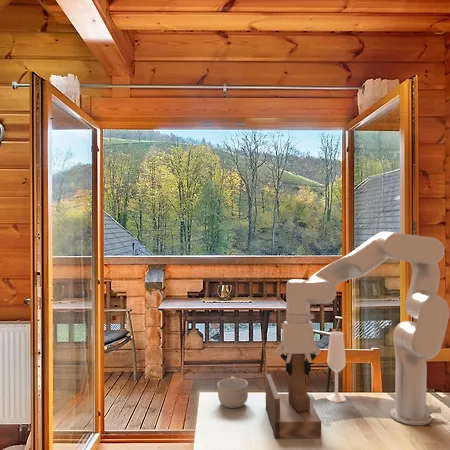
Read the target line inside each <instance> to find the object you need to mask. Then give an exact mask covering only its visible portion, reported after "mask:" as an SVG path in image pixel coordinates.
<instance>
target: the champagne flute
mask: <svg viewBox="0 0 450 450" xmlns="http://www.w3.org/2000/svg"><path fill="white" fill-rule="evenodd" d="M344 338H345V337H344V332H343V331H342V332H341V331H330V332H329V339H328V340H329V341H328V347H327V348H328V349H327V359H326V364H327V366H328V367H329V369H330V370H331V371H333V372H334V392H333V393H331V394H330V395H327V397H326V398H327V400H329V401H330V402H336V403H341V402H345V401H346V400H347V399H346V397H345V396H343V395H341V394H340V393H339V372H341V371H343V369H344V368H346V365H347V359H346V350H345V339H344Z"/></svg>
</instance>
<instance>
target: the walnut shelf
mask: <svg viewBox="0 0 450 450" xmlns="http://www.w3.org/2000/svg"><path fill="white" fill-rule="evenodd" d="M272 377H273V376H272V375H271V373H266V374H265V410H266V414H267V417H268V421H269V425H270V426H271V430H272V433H273V438H274V439H275V440H277V439H278V440H281V439H282V440H283V439H286V440H287V439H288V440H289V439H322V420H321V418H320V416H319V414H318V413H317V411H316V409H315V407H314V406H313V404H312V402H311V401H310V411H304V412H297V411H296V410H295V409H294V408H293V406H292V405H291V404H290V402H289V397H288V393H279V392H278V391H277V388H276V385H275V383H274V380H273V378H272Z"/></svg>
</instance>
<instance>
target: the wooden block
mask: <svg viewBox="0 0 450 450" xmlns="http://www.w3.org/2000/svg"><path fill="white" fill-rule="evenodd" d="M305 360H306V356H305V354H292V356H291V359H290V362H291V376H289V375H288V377H287V379H288V382H287V383H288V385H287V386H288V389H287V390H288V393H287V394H288V397H289V402H290V404H291V405H292V406H293V408H294V409H295V410H296V411H297V412H304V411H310V402H311V397H310V395H309V394H308V391H307V386H306V373H305Z"/></svg>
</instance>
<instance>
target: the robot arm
mask: <svg viewBox="0 0 450 450" xmlns="http://www.w3.org/2000/svg"><path fill="white" fill-rule="evenodd" d="M445 253H446V252H445V246H444V244H443V243H442V242H441V241H440V240H439V239H437V238H435V237H433V236H432V237H431V236H424V235H423V236H422V235H415V234H407V233H403V232H398V231H397V232H396V231H380V232H378V233H376V234H374V235H373V236H372V237H370V238H369V239H368V240H366V241H365V242H364V243H362V244H361V245H360V246H358V247H357V248H355V249H354V250H352V251H351V252H349V253H348V254H346V255H344V256H342V257H341V258H339V259H337V260H334V261H333V262H331V263H329V264H328V265H326V266H324V267H322V268H321V269H319V270H318V271H317V272H315V273H314V274H313V275H312V276H310V277H309V278H308V279H307V280H306V279H301V278H299V279H298V278H295V279H289V280H287V282H286V287H285V288H286V290H285V291H286V296H285V297H286V298H285V299H286V302H285V303H286V305H285V307H286V308H285V309H286V310H285V311H286V312H285V313H286V315H285V317H286V319H285V320H284V321H283V325H282V332H281V342H280V344H279V346H277V348H276V349H274V350H275V351H274V352H275V353H276V355H277V356H279V357H280V358H281V359H282V360H283V361H284V362H285V372H286V373H287V374H288V375H289V376H291V362H290V359H291V356H292V354H305V376H310V373H311V370H312V367H311V366H312V365H311V363H312V361H314V359H316V357H318V355H320V354H321V353H322V350H321V349H320V348H319V347H318V345H317V344H316V343H315V335H314V327H313V323H312V322H313V321H312V319H315V313H314V314H313V313H311V303H316V304H330V303H331V302H333V300H335V299H336V297H337V289H336V286H337V285H339V284H340V283H343V282H346V281H348V280H352V279H353V280H354V279H359V278H362V277H364V276H366V275H367V274H369V273H370V272H372V271H373V270H374V269H376V268H378V266H380V265H382V264H383V263H384V262H385V261H387V260H389V259H391V260H397V261H403V262H409V264H410V266H411V271H412V274H411V279H410V284H409V287H408V292H407V295H406V299H405V303H404V309H405V312H406V313H407V315H409V316H410V317H412V318H413V319H416V322H415V321H411V320H410V321H409V320H404V321H401V322H399V323H398V324H397V325H396V326H395V327H394V329H393V334H392V339H393V340H392V341H393V347H394V354H395V355H394V357H395V377H394V378H395V380H394V382H395V383H394V384H395V386H394V387H395V396H394V397H395V399H394V400H395V401H394V402H395V403H394V407H393V408H391V409H390V412H389V414H390V417H391V418H392V419H393V420H395V421H397V422H399V423H402V424H405V425H411V426H425V425H429V424H431V422H432V414H442V409H441V406H434V405H433V404H428V403H427V370H428V369H427V360H431V359H434V358H435V357H436V356H437V355H438V354H439V353H440V351H441V348H442V345H443V342H444V340H445V336H446V332H447V328H448V323H449V320H450V308H449V304H448V302H447V301H446V300H445V298H443V297H442V296H441V295H438V291H439V286H440V281H441V269H440V266H439V264H438V263H439V262H441V260H442V259H443V258H444V256H445ZM282 351H283V352H282Z"/></svg>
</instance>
